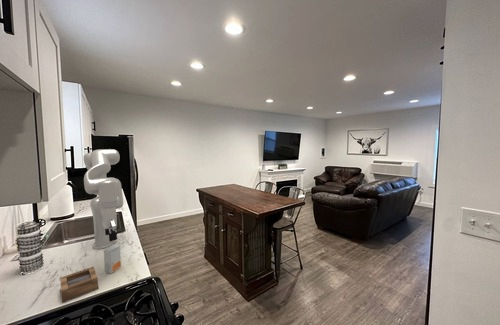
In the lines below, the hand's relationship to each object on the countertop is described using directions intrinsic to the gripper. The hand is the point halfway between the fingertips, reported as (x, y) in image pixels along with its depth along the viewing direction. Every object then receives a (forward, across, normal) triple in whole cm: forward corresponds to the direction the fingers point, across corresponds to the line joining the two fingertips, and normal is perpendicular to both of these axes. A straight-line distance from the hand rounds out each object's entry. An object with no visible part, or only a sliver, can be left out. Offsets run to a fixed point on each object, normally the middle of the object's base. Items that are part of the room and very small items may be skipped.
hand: (111, 237), depth 105 cm
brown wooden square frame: (+18, +6, -14) cm, 23 cm away
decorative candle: (+17, -30, -30) cm, 46 cm away
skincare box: (+18, 0, 0) cm, 18 cm away
